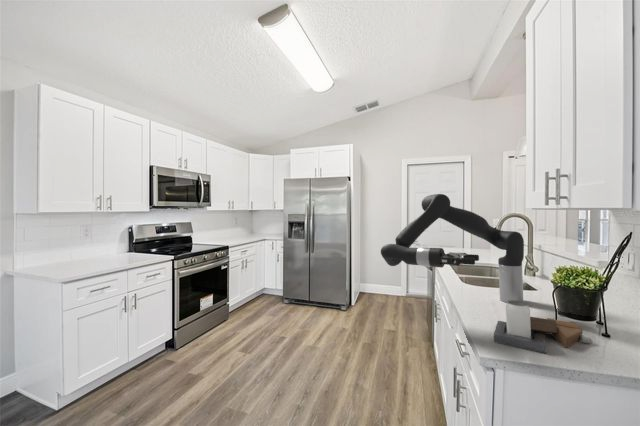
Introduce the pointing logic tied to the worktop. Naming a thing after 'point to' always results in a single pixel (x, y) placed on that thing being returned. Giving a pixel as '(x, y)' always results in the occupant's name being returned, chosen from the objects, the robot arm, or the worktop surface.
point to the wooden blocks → (560, 331)
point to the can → (518, 318)
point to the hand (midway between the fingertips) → (476, 259)
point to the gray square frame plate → (520, 339)
